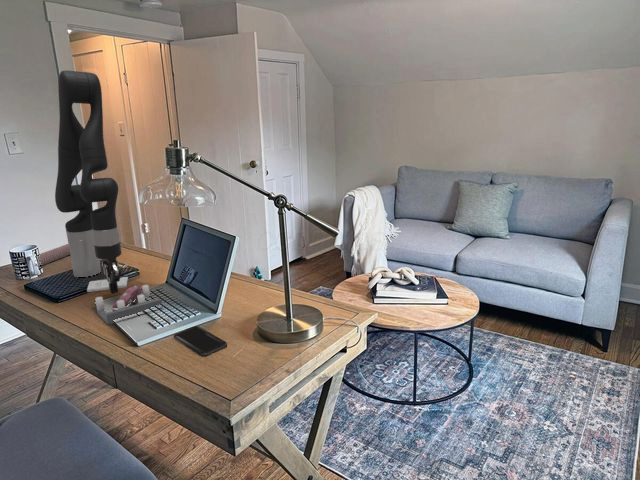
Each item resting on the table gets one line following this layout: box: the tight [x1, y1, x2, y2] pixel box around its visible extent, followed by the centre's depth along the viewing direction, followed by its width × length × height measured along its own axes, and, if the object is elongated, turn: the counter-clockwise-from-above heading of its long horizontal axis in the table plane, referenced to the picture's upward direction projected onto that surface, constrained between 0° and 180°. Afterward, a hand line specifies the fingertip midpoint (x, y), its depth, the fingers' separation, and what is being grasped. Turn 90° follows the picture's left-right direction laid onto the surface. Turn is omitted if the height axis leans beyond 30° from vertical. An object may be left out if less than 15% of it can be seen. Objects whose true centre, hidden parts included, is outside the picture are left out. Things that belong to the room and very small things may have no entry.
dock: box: [94, 284, 162, 326], centre depth 139 cm, size 10×16×5 cm, turn 132°
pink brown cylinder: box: [38, 243, 70, 267], centre depth 186 cm, size 5×5×18 cm
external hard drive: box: [86, 276, 129, 293], centre depth 160 cm, size 2×8×12 cm
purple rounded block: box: [111, 285, 143, 309], centre depth 143 cm, size 10×5×7 cm, turn 172°
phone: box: [173, 325, 228, 358], centre depth 121 cm, size 8×1×15 cm
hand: (114, 292), depth 149 cm, fingers closed
